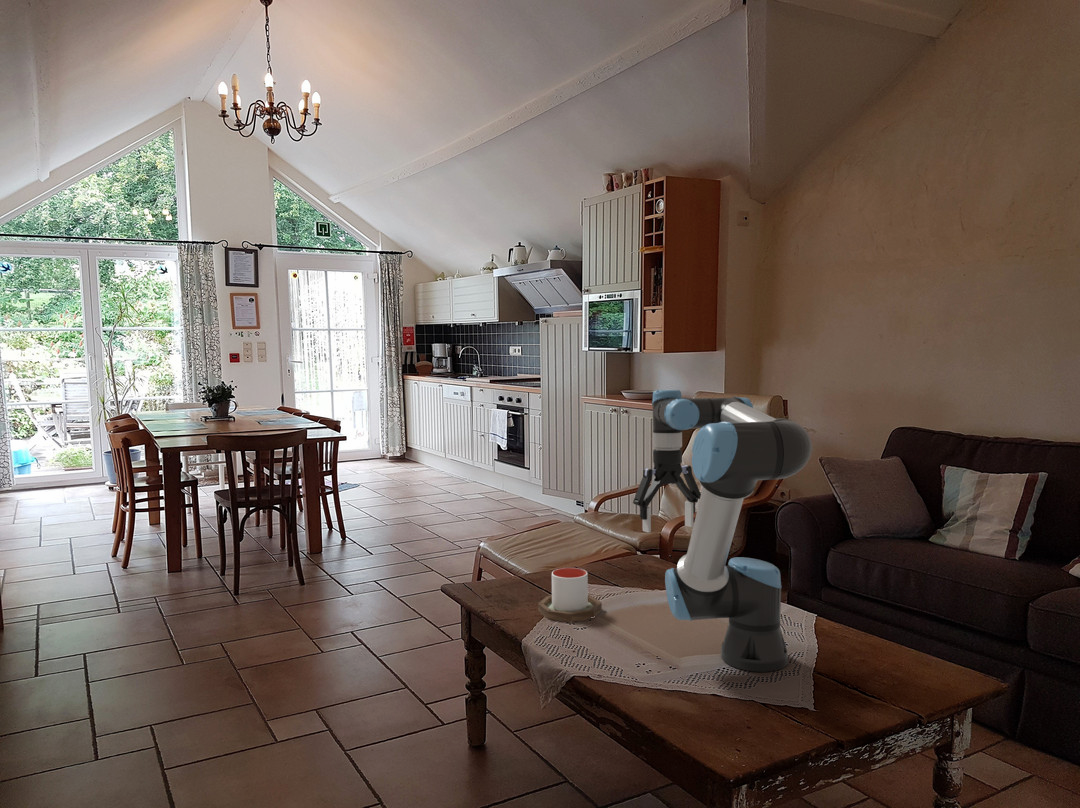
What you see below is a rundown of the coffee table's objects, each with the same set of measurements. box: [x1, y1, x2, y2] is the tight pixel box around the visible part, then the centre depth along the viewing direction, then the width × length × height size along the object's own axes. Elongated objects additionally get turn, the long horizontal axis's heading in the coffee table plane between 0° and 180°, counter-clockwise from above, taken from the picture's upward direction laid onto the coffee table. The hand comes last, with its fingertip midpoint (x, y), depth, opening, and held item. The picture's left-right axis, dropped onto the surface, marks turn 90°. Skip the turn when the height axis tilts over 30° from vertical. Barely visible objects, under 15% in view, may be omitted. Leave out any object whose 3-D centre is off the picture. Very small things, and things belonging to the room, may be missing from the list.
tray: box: [537, 594, 603, 623], centre depth 214 cm, size 16×16×2 cm
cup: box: [551, 567, 589, 612], centre depth 213 cm, size 10×10×10 cm
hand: (668, 529), depth 201 cm, fingers open, 13 cm apart
